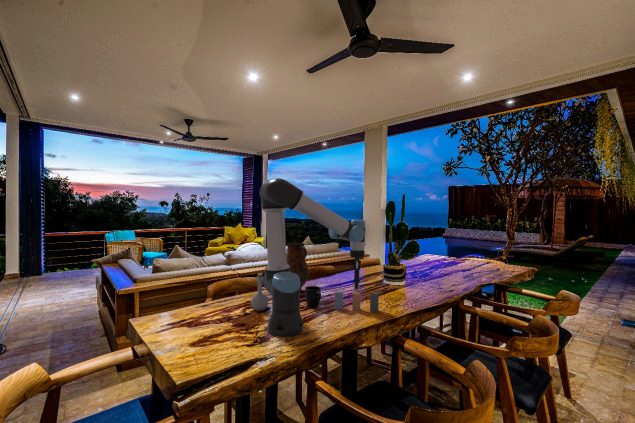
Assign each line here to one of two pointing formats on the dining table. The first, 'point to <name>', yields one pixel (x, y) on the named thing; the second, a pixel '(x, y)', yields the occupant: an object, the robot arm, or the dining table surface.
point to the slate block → (338, 300)
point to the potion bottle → (259, 296)
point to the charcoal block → (374, 302)
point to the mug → (312, 295)
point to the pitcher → (298, 261)
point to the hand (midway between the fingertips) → (356, 294)
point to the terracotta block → (356, 301)
